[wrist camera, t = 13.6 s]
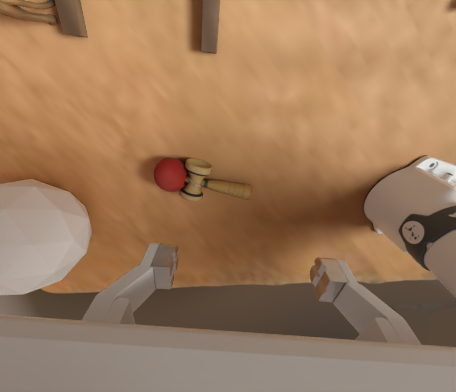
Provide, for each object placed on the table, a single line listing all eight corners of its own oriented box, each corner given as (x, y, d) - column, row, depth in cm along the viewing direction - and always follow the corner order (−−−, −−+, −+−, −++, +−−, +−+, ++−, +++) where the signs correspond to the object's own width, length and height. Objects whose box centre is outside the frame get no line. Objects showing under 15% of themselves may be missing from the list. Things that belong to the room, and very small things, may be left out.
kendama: (254, 165, 41) (159, 142, 36) (260, 187, 37) (152, 165, 32) (239, 192, 46) (155, 176, 41) (243, 214, 42) (149, 199, 37)
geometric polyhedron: (70, 167, 47) (4, 145, 28) (121, 240, 50) (92, 264, 31) (-22, 214, 43) (-178, 224, 23) (39, 291, 45) (-56, 357, 26)
